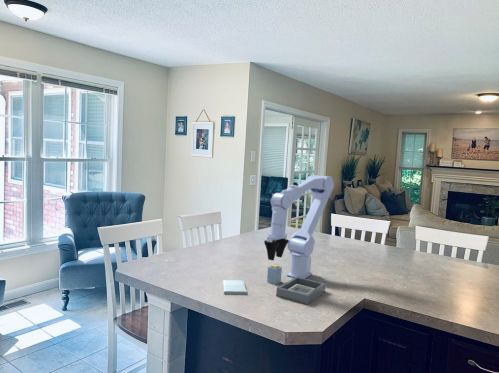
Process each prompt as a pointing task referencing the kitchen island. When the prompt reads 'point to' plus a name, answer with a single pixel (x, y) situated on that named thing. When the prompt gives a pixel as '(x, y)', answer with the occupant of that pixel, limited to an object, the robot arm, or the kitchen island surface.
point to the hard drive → (234, 287)
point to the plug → (274, 274)
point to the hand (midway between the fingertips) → (275, 258)
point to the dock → (301, 290)
